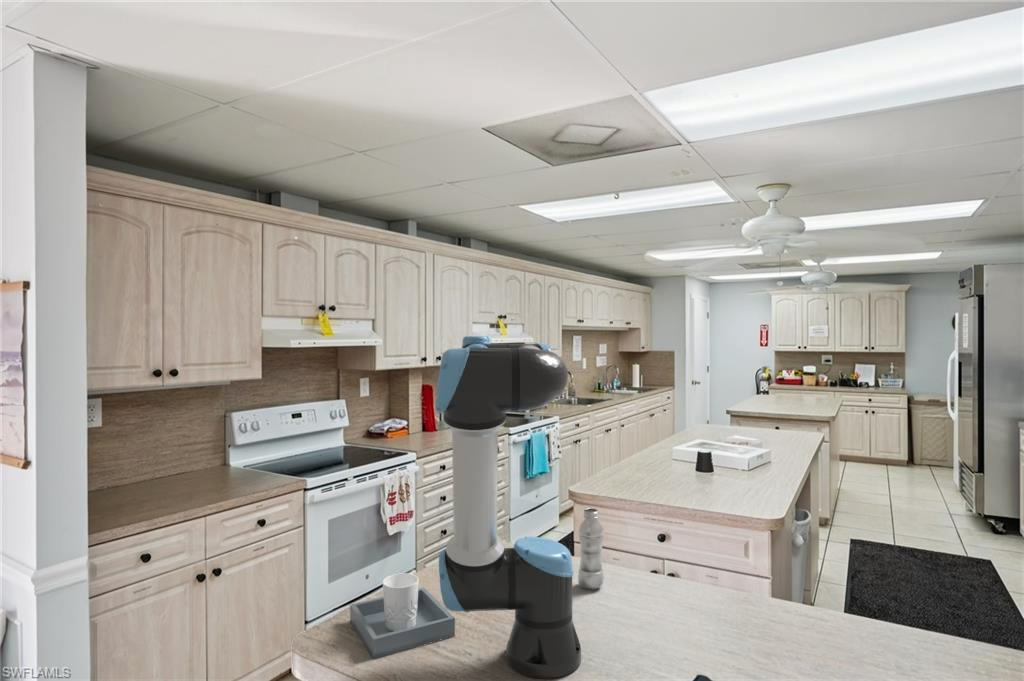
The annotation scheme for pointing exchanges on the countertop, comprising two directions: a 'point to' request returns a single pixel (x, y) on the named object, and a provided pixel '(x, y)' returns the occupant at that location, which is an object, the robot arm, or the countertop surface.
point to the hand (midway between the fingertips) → (476, 474)
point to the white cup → (400, 601)
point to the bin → (383, 642)
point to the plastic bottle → (591, 551)
